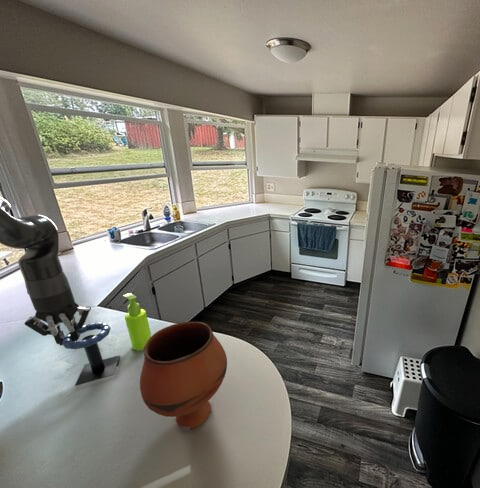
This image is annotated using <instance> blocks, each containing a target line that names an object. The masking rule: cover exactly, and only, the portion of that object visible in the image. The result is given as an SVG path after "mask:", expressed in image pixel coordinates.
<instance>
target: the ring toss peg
mask: <svg viewBox="0 0 480 488" xmlns="http://www.w3.org/2000/svg"><path fill="white" fill-rule="evenodd" d="M94 336H96V335H94V334H89V335H86V336H84V337H83V338H82V339H81V341H83V340H87V339H90V338H92V337H94ZM98 343H99V342H98ZM98 343H95V344H93V345H91V346H89V347H85V348H83V349H84V352H85V355H86V357H87V361H88V363H84V365H83V368H82V370H81V371H80V373H79V376H78V378H77V380H76V381H75V384H74V387H76V386H79V385H83V384H87V383H90V382H94V381H98V380H100V379H104V378H108V377H111V376H114V375H115V371H116V368H117V367H118V366H119V363H120V361H121V355H115V356H110V357H108V358H103V356H102V352H101V349H100V347H99V344H98Z"/></svg>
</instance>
